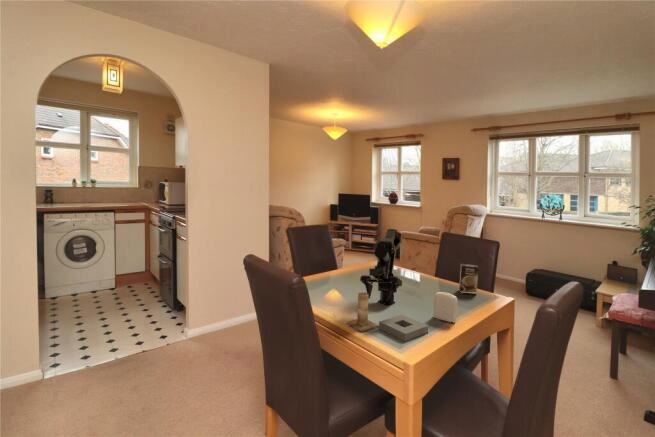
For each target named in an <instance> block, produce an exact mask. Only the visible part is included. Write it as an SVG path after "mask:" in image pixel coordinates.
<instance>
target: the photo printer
mask: <svg viewBox="0 0 655 437" xmlns="http://www.w3.org/2000/svg"><path fill="white" fill-rule="evenodd" d="M433 300H434V301H433V302H434V303H433V318H435V319H438V320H441V321H444V322H448V323H451V322H456V323H457V316H458V315H457V313H458V312H457V311H458V296H456V295H454V294H452V293H449V292H444V291H439V292H436V293H435V294H434V299H433Z"/></svg>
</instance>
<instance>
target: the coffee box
mask: <svg viewBox="0 0 655 437" xmlns="http://www.w3.org/2000/svg"><path fill="white" fill-rule="evenodd" d="M478 277H479V266H478V265H477V264H467V263H466V264H465V263H460V271H459V285H458V292H459V291H461V292H476V293H477V290H478V289H477V288H478V279H479V278H478Z"/></svg>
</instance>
